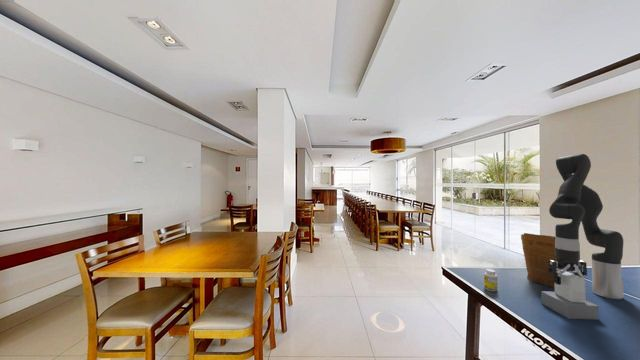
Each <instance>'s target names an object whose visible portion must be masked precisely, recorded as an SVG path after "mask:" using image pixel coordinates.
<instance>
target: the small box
mask: <svg viewBox="0 0 640 360" xmlns="http://www.w3.org/2000/svg"><path fill="white" fill-rule="evenodd" d="M558 272H559V271H558ZM558 272H557V273H558ZM560 277H561V285H558V284H556V283H555V288H554V292H555V294H557V295H559V296H561V297H563V298H565V299H566V300H568V301H570V302H580V303H585V300H586V278H584V277H580V276H577V275H575V274H574V273H573V272H570V271H565V273H562V274H561V276H560Z"/></svg>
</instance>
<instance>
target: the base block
mask: <svg viewBox="0 0 640 360" xmlns="http://www.w3.org/2000/svg"><path fill="white" fill-rule="evenodd" d="M540 293H541V295H540V296H541V297H540V298H541V305H543V306H546V307H547V308H549V309H550V310H552V311H554V312H556V313H557V314H559V315H561V316H564V317H565V318H567V319H570V320H573V319H574V320H599V319H600V318H599V317H600V316H599V305H597V304H595V303H593V302H591V301H588V300H586V299H585V303H580V302H570V301H568V300H566V299H565V298H563V297H561V296H559V295H557V294H555V291H547V290H546V291H544V290H542V291H541V292H540Z"/></svg>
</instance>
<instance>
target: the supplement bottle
mask: <svg viewBox="0 0 640 360" xmlns="http://www.w3.org/2000/svg"><path fill="white" fill-rule="evenodd" d="M483 276H484V288H485V289H486V290H487V291H489V292H497V291H498V275H497V273H496V270H494V269H492V268H486V269H485V272H484V274H483Z"/></svg>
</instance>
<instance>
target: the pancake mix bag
mask: <svg viewBox="0 0 640 360" xmlns="http://www.w3.org/2000/svg"><path fill="white" fill-rule="evenodd" d="M555 237H556V236H552V235H543V234H537V233H536V234H534V233H528V232H524V233H522V234H520V239H521V246H522V252H523V257H524V261H525V267H526V272H527V277H526V279H527V280H529V281H530V282H533V283H536V284H540V285H543V286H547V287H550V288H553V289H555V282H554V275H553V274H551V273H549V272H548V264H549V260H553V261H556V260H557V258H556V256H555ZM559 269H560V268H559ZM552 271H553V269H552Z"/></svg>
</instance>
